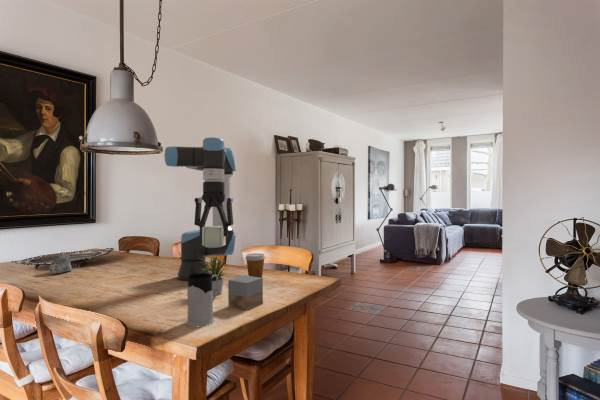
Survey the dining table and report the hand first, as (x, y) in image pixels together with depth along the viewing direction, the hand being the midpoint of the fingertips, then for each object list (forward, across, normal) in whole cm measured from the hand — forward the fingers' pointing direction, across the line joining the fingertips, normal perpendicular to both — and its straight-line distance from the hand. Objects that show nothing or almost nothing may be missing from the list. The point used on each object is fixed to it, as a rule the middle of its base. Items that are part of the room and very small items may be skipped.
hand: (214, 245), depth 129 cm
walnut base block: (+23, +10, +5) cm, 26 cm away
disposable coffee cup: (+23, +4, +46) cm, 51 cm away
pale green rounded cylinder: (0, 0, 0) cm, 0 cm away
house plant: (+23, -8, +19) cm, 31 cm away
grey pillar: (+23, +1, -12) cm, 26 cm away
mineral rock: (+23, -103, +49) cm, 116 cm away
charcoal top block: (+18, +10, +5) cm, 22 cm away
